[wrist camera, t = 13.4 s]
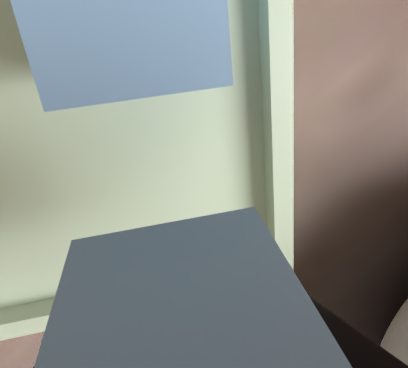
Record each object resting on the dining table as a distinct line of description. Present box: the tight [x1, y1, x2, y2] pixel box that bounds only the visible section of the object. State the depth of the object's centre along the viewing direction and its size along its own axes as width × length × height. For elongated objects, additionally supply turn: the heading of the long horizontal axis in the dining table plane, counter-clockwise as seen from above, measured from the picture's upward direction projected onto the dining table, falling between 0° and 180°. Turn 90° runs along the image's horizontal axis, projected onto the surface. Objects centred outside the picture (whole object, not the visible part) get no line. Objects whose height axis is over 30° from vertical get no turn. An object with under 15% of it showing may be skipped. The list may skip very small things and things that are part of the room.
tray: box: [0, 0, 294, 341], centre depth 12 cm, size 16×16×2 cm
